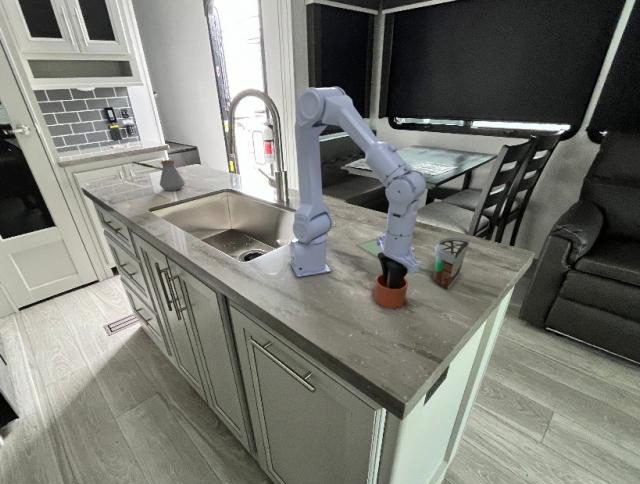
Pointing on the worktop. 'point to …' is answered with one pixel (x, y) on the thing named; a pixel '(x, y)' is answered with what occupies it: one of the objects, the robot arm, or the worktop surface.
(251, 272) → the worktop surface
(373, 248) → the napkin
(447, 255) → the food container
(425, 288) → the worktop surface
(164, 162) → the coffee pot
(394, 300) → the cup
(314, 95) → the robot arm
